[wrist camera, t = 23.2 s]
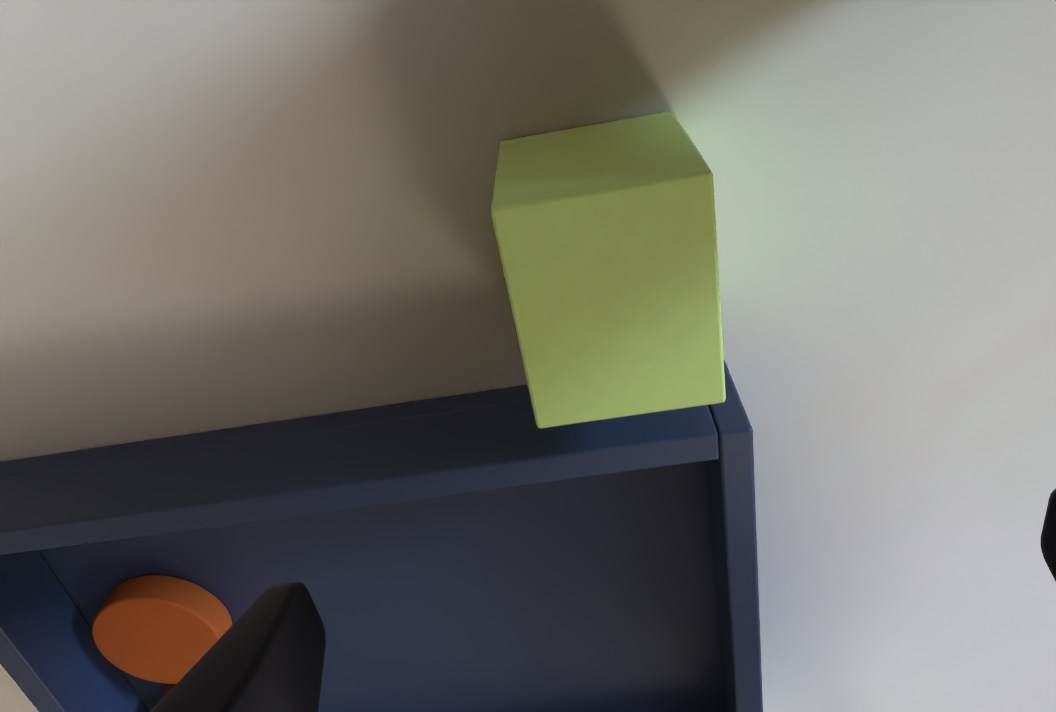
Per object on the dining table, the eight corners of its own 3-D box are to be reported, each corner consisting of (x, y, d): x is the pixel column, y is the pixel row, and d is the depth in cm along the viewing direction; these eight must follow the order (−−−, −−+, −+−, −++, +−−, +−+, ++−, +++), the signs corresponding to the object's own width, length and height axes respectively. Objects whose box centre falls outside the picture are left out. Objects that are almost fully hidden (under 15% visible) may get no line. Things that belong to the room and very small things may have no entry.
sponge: (673, 108, 17) (713, 171, 14) (689, 304, 20) (726, 403, 16) (499, 140, 18) (489, 209, 14) (536, 328, 20) (536, 430, 16)
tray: (723, 355, 21) (753, 428, 18) (743, 713, 29) (766, 804, 26) (-19, 463, 23) (-97, 544, 20) (190, 770, 31) (156, 859, 28)
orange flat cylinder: (205, 566, 24) (193, 591, 23) (251, 651, 26) (242, 678, 25) (84, 581, 24) (67, 607, 23) (138, 664, 26) (125, 691, 25)
